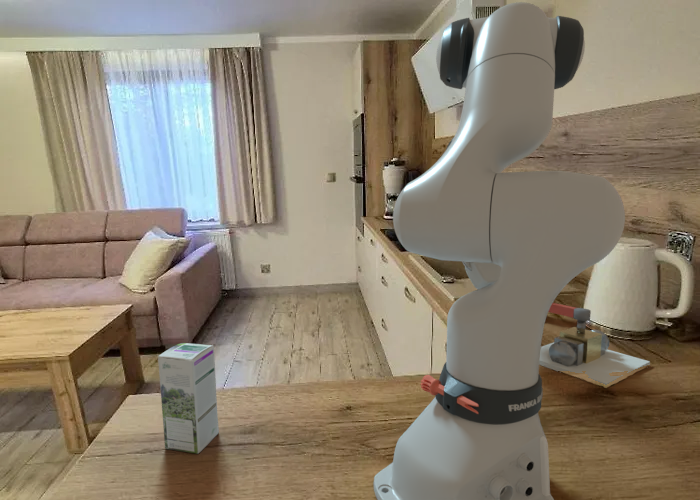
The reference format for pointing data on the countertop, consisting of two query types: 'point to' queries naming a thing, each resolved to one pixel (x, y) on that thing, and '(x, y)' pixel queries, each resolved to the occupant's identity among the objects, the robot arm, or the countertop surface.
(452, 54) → the robot arm
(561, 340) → the valve
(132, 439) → the countertop surface
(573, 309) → the lever
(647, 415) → the countertop surface
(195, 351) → the syrup box
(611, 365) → the mounting board
